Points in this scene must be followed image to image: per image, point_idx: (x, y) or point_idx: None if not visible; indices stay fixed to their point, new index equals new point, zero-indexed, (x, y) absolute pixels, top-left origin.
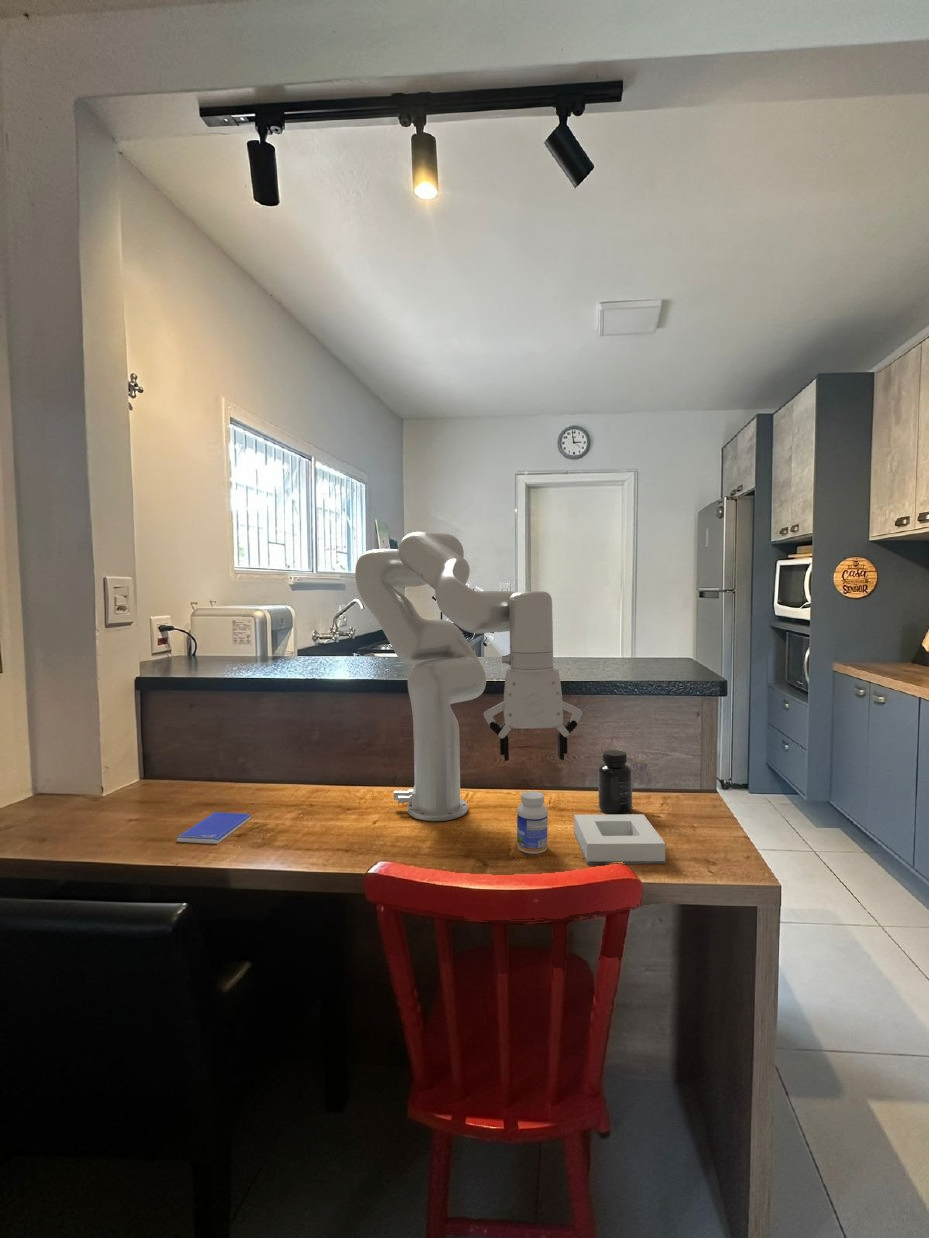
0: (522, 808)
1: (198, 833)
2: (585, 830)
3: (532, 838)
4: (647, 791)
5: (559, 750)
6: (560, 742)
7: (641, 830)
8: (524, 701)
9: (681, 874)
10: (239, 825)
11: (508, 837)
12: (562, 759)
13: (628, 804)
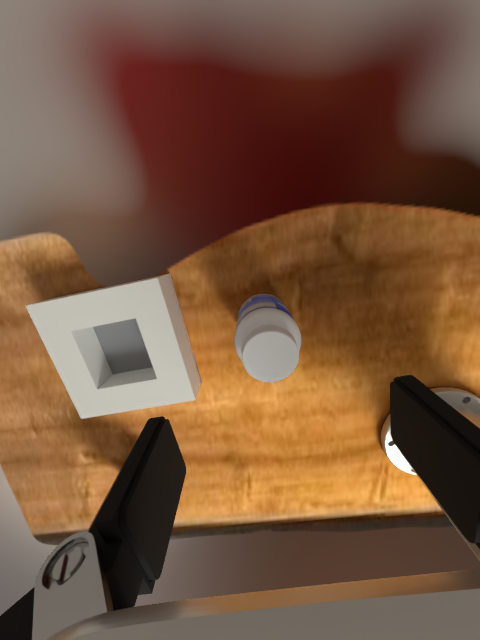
0: (290, 329)
1: None
2: (167, 336)
3: (261, 298)
4: None
5: (159, 456)
6: (132, 488)
7: (73, 353)
8: None
9: (26, 266)
10: None
11: (304, 349)
12: (157, 417)
13: (121, 469)
